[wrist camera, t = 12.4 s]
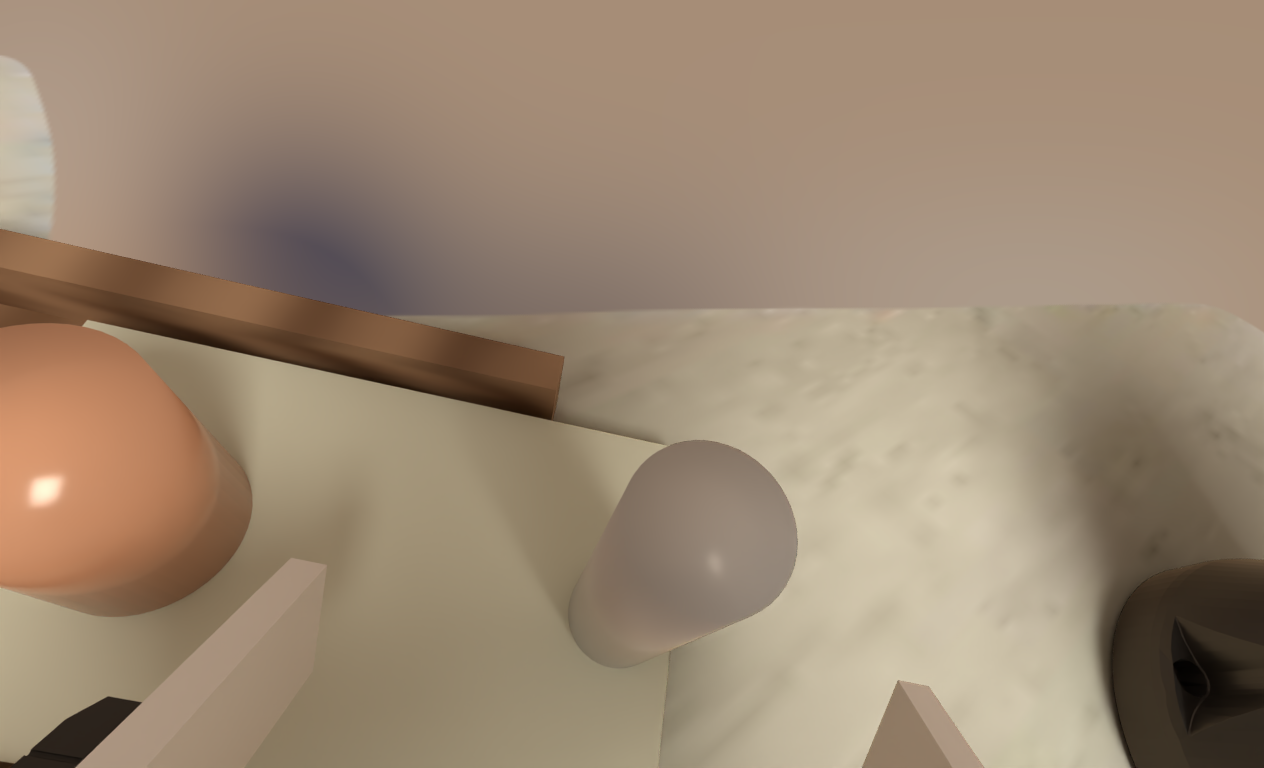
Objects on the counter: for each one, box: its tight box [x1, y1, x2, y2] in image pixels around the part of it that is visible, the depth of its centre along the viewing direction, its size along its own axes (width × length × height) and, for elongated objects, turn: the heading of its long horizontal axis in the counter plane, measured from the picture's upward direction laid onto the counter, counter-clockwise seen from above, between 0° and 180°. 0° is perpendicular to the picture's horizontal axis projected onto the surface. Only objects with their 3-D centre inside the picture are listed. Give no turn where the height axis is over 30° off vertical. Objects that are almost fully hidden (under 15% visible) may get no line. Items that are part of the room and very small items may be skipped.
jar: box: [0, 323, 253, 617], centre depth 17 cm, size 6×6×7 cm
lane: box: [0, 229, 564, 768], centre depth 20 cm, size 32×18×4 cm, turn 81°
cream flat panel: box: [0, 320, 798, 768], centre depth 16 cm, size 24×14×12 cm, turn 81°
